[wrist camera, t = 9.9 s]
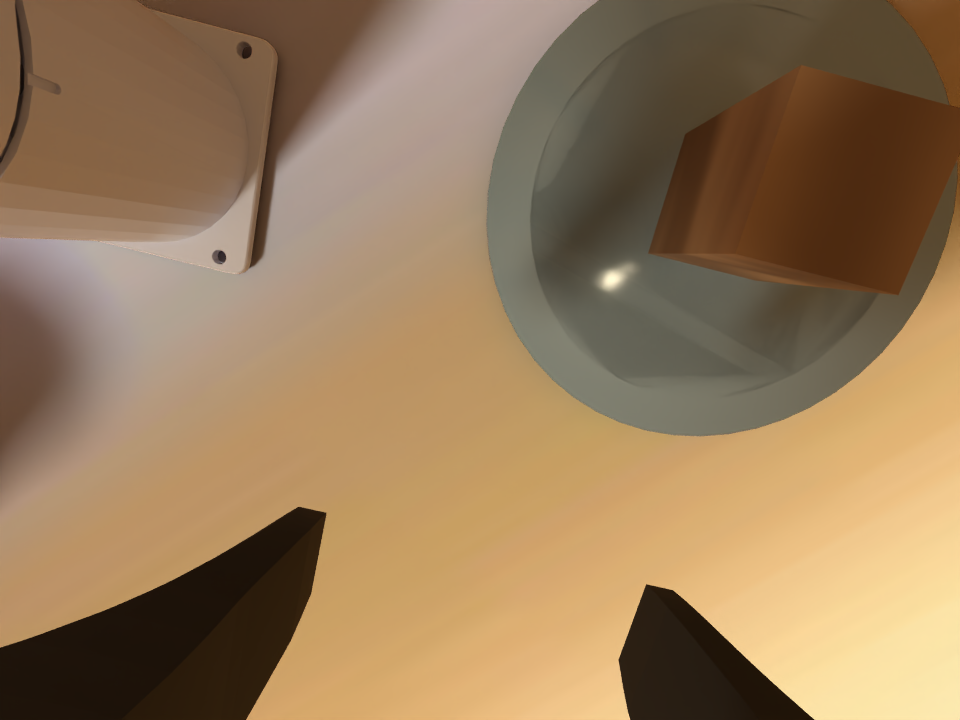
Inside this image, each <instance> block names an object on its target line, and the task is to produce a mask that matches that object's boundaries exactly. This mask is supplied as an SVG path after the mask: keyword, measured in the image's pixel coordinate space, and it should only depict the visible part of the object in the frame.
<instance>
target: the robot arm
mask: <svg viewBox="0 0 960 720" xmlns="http://www.w3.org/2000/svg"><path fill="white" fill-rule="evenodd" d="M247 46H251V47H252V54H251V56H250V57H249V58H247V59H243V57H242V52H243V49H244V48H245V47H247ZM277 65H278V55H277V53H276V50H275V49H274V48H273V46H272V45H271V44H270V43H269V42H268V41H266V40H264V39H262V38H259V37H255V36H251V35H247V34H243V33H240V32H236V31H232V30H228V29H224V28H221V27H217V26H213V25H209V24H205V23H202V22H198V21H194V20H190V19H186V18H183V17H179V16H175V15H171V14H168V13H164V12H160V11H156V10H152V9H149V8H146V7H145V6H144V5H142V4H141V3H139V2H138V1H137V0H0V238H28V239H59V240H90V241H99V242H103V243H107V244H111V245H115V246H119V247H123V248H128V249H132V250H136V251H140V252H144V253H148V254H152V255H156V256H161V257H165V258H169V259H173V260H177V261H181V262H185V263H189V264H194V265H198V266H202V267H206V268H210V269H214V270H218V271H222V272H227V273H231V274H241V273H244V272H246V271H247V270H248V269H249V267H250V264H251V257H252V250H253V242H254V235H255V228H256V220H257V213H258V205H259V198H260V191H261V183H262V176H263V169H264V161H265V154H266V146H267V139H268V132H269V124H270V117H271V109H272V102H273V95H274V87H275V80H276V73H277ZM220 251H223V252H224V253H225V254H226V261H225V263H221V262H220V261H219V259H218V253H219V252H220ZM325 518H326V513H324V512H320V511H315V510H311V509H306V508H302V507H298V508H296V509H294V510H292V511H291V512H289V513H287V514H286V515H284V516H283V517H281V518H279V519H278V520H276V521H275V522H273V523H271V524H270V525H268V526H267V527H265V528H264V529H262V530H260V531H259V532H257V533H256V534H254V535H252V536H251V537H249V538H247V539H246V540H244V541H242V542H241V543H239V544H237V545H236V546H234V547H232V548H231V549H229V550H227V551H226V552H224V553H222V554H221V555H219V556H217V557H215V558H213V559H212V560H210V561H208V562H206V563H204V564H202V565H200V566H199V567H197V568H195V569H193V570H191V571H189V572H187V573H186V574H184V575H182V576H180V577H178V578H176V579H174V580H172V581H170V582H168V583H166V584H164V585H162V586H159V587H157V588H155V589H153V590H151V591H149V592H147V593H144V594H142V595H140V596H137V597H135V598H133V599H131V600H128V601H126V602H124V603H121V604H119V605H117V606H114V607H112V608H110V609H107V610H105V611H102V612H99V613H97V614H94V615H91V616H89V617H86V618H83V619H81V620H78V621H75V622H73V623H70V624H67V625H65V626H62V627H59V628H56V629H54V630H51V631H48V632H46V633H43V634H40V635H38V636H35V637H32V638H29V639H26V640H23V641H20V642H17V643H14V644H11V645H7V646H4V647H1V648H0V720H246V719H247V717H248V715H249V714H250V712H251V710H252V708H253V707H254V705H255V703H256V701H257V699H258V698H259V696H260V694H261V692H262V691H263V689H264V687H265V685H266V684H267V682H268V680H269V678H270V677H271V675H272V673H273V671H274V670H275V668H276V666H277V664H278V662H279V661H280V659H281V657H282V655H283V654H284V652H285V650H286V648H287V646H288V645H289V643H290V641H291V639H292V637H293V634H294V632H295V630H296V628H297V625H298V623H299V621H300V618H301V616H302V614H303V611H304V609H305V607H306V604H307V602H308V600H309V597H310V595H311V591H312V586H313V581H314V576H315V570H316V565H317V560H318V555H319V550H320V544H321V539H322V534H323V529H324V523H325ZM619 665H620V671H621V677H622V683H623V689H624V694H625V699H626V704H627V709H628V713H629V716H630V720H814V719H813V718H812V717H811V716H810V715H808V714H807V713H806V712H805V711H804V710H803V709H802V708H800V707H799V706H798V705H797V704H796V703H795V702H794V701H792V700H791V699H790V698H789V697H788V696H787V695H786V694H784V693H783V692H782V691H781V690H780V689H779V688H778V687H777V686H776V685H774V684H773V683H772V682H771V681H770V680H769V679H768V678H767V677H766V676H765V675H764V674H762V673H761V672H760V671H759V670H758V669H757V668H756V667H755V666H754V665H753V664H752V663H751V662H750V661H749V660H748V659H746V658H745V657H744V656H743V655H742V654H741V653H740V652H739V651H738V650H737V649H736V648H735V647H734V646H733V645H732V644H731V643H730V642H729V641H728V640H727V639H725V638H724V637H723V636H722V635H721V634H720V633H719V632H718V631H717V630H716V629H715V628H714V627H713V626H712V625H711V624H710V623H709V622H708V621H707V620H706V619H705V618H704V617H702V616H701V615H700V614H699V613H698V612H697V611H696V610H695V609H694V608H693V607H692V606H691V605H689V604H688V603H687V602H686V601H685V600H684V599H683V598H682V597H680V596H679V595H678V594H677V593H675V592H674V591H673V590H669V589H665V588H660V587H656V586H651V585H647V584H646V587H645V589H644V592H643V595H642V598H641V600H640V603H639V606H638V608H637V611H636V614H635V617H634V619H633V622H632V625H631V628H630V630H629V633H628V636H627V638H626V641H625V644H624V647H623V649H622V652H621V655H620V658H619Z"/></svg>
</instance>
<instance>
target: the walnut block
mask: <svg viewBox="0 0 960 720" xmlns="http://www.w3.org/2000/svg"><path fill="white" fill-rule="evenodd" d="M959 154H960V108H958V107H954V106H950V105H947V104H943V103H939V102H936V101H932V100H928V99H925V98H921V97H917V96H914V95H910V94H906V93H903V92H899V91H895V90H892V89H888V88H884V87H881V86H877V85H873V84H869V83H866V82H862V81H858V80H855V79H851V78H847V77H844V76H840V75H836V74H833V73H829V72H825V71H822V70H818V69H814V68H811V67H807V66H803V65H800V66H799V67H797V68H795V69H793V70H792V71H790V72H788V73H787V74H785V75H783V76H782V77H780V78H778V79H777V80H775V81H773V82H772V83H770V84H768V85H767V86H765V87H763V88H762V89H760V90H758V91H757V92H755V93H753V94H752V95H750V96H748V97H746V98H745V99H743V100H741V101H740V102H738V103H736V104H735V105H733V106H731V107H730V108H728V109H726V110H725V111H723V112H721V113H720V114H718V115H716V116H715V117H713V118H711V119H710V120H708V121H706V122H705V123H703V124H701V125H699V126H698V127H696V128H694V129H693V130H691V131H689V132H688V133H686V134H685V136H684V139H683V142H682V146H681V149H680V152H679V155H678V159H677V162H676V165H675V168H674V171H673V175H672V178H671V181H670V184H669V187H668V191H667V194H666V197H665V200H664V204H663V207H662V210H661V213H660V216H659V220H658V223H657V226H656V229H655V232H654V236H653V239H652V242H651V245H650V249H649V252H648V254H652V255H656V256H660V257H664V258H668V259H672V260H676V261H680V262H684V263H687V264H691V265H695V266H699V267H703V268H707V269H711V270H715V271H719V272H723V273H727V274H731V275H735V276H739V277H743V278H747V279H751V280H755V281H764V282H774V283H784V284H793V285H803V286H813V287H823V288H833V289H843V290H853V291H862V292H872V293H882V294H892V295H899V293H900V291H901V288H902V286H903V284H904V282H905V279H906V277H907V275H908V272H909V270H910V268H911V265H912V263H913V261H914V258H915V256H916V254H917V251H918V249H919V247H920V244H921V242H922V240H923V238H924V235H925V233H926V231H927V228H928V226H929V224H930V221H931V219H932V217H933V214H934V212H935V210H936V207H937V205H938V203H939V200H940V198H941V196H942V194H943V191H944V189H945V187H946V184H947V182H948V180H949V177H950V175H951V173H952V170H953V168H954V166H955V163H956V161H957V159H958V156H959Z"/></svg>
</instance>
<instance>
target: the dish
mask: <svg viewBox="0 0 960 720" xmlns="http://www.w3.org/2000/svg"><path fill="white" fill-rule="evenodd" d="M800 65H803V66H807V67H811V68H814V69H818V70H822V71H825V72H829V73H833V74H836V75H840V76H844V77H847V78H851V79H855V80H858V81H862V82H866V83H869V84H873V85H877V86H881V87H884V88H888V89H892V90H895V91H899V92H903V93H906V94H910V95H914V96H917V97H921V98H925V99H928V100H932V101H936V102H939V103H943V104H947V105H949V101H948V98H947V94H946V91H945V87H944V84H943V82H942V80H941V78H940V75H939V73H938V71H937V69H936V67H935V64H934V62H933V60H932V58H931V56H930V54H929V52H928V51H927V49H926V48H925V46H924V45H923V43H922V42H921V40H920V39H919V37H918V36H917V34H916V32H915V31H914V29H913V28H912V27H911V26H910V25H909V24H908V22H907V21H906V20H905V19H904V18H903V17H902V16H901V15H900V14H899V12H898V11H897V10H896V9H895V8H894V7H893V6H892V5H891V4H890V3H889V2H888V1H886V0H599V1H598V2H596V3H595V4H594V5H592V6H591V7H590V8H589V9H587V10H586V11H585V12H583V13H582V14H581V15H580V16H579V17H578V18H577V19H576V20H575V21H574V22H573V23H572V24H571V25H570V26H569V27H568V28H567V29H566V30H565V31H564V32H563V33H562V34H561V35H560V36H559V37H558V38H557V39H556V40H555V41H554V43H553V44H552V45H551V47H550V48H549V49H548V50H547V52H546V53H545V54H544V56H543V57H542V58H541V59H540V61H539V62H538V63H537V65H536V66H535V67H534V69H533V71H532V72H531V74H530V76H529V77H528V79H527V81H526V82H525V84H524V86H523V87H522V89H521V91H520V92H519V94H518V96H517V98H516V100H515V102H514V104H513V107H512V109H511V111H510V114H509V116H508V118H507V120H506V123H505V125H504V127H503V130H502V133H501V137H500V140H499V143H498V147H497V150H496V153H495V157H494V160H493V166H492V172H491V178H490V184H489V190H488V205H487V237H488V249H489V257H490V262H491V266H492V271H493V276H494V280H495V284H496V287H497V289H498V292H499V295H500V298H501V301H502V304H503V306H504V309H505V312H506V314H507V316H508V318H509V320H510V322H511V324H512V326H513V327H514V329H515V331H516V333H517V335H518V337H519V339H520V340H521V341H522V343H523V344H524V346H525V347H526V349H527V350H528V351H529V353H530V354H531V356H532V357H533V359H534V360H535V361H536V362H537V363H538V364H539V365H540V367H541V368H542V369H543V370H544V371H545V372H546V373H547V374H548V375H549V376H550V377H551V379H552V380H553V381H555V382H556V383H557V384H558V385H559V386H561V387H562V388H563V389H564V390H565V391H567V392H568V393H569V394H570V395H571V396H573V397H574V398H576V399H577V400H579V401H580V402H582V403H584V404H585V405H587V406H588V407H590V408H592V409H593V410H595V411H596V412H599V413H601V414H603V415H605V416H607V417H609V418H612V419H614V420H616V421H618V422H620V423H624V424H627V425H630V426H633V427H637V428H640V429H643V430H647V431H652V432H658V433H664V434H670V435H684V436H710V435H723V434H731V433H736V432H741V431H746V430H751V429H756V428H759V427H762V426H765V425H768V424H771V423H775V422H778V421H781V420H784V419H786V418H788V417H790V416H792V415H795V414H797V413H799V412H801V411H803V410H806V409H808V408H810V407H812V406H813V405H815V404H817V403H818V402H820V401H822V400H823V399H825V398H827V397H828V396H830V395H832V394H833V393H835V392H836V391H838V390H839V389H840V388H842V387H843V386H844V385H846V384H847V383H848V382H850V381H851V380H852V379H853V378H855V377H856V376H857V375H859V374H860V373H861V372H862V371H863V370H864V369H865V368H866V367H867V366H868V365H869V364H870V363H872V362H873V361H874V360H875V359H876V358H877V357H878V356H879V355H880V354H881V353H882V352H883V351H884V350H885V348H886V347H887V346H888V345H889V344H890V342H891V341H892V340H893V339H894V338H895V337H896V335H897V334H898V333H899V332H900V331H901V329H902V328H903V327H904V325H905V324H906V322H907V321H908V319H909V318H910V316H911V315H912V313H913V312H914V310H915V309H916V307H917V306H918V304H919V303H920V301H921V299H922V297H923V295H924V293H925V291H926V289H927V287H928V285H929V283H930V281H931V280H932V278H933V276H934V274H935V271H936V268H937V266H938V263H939V260H940V258H941V255H942V252H943V250H944V247H945V245H946V241H947V237H948V233H949V229H950V225H951V221H952V217H953V213H954V205H955V196H956V188H957V161H956V163H955V166H954V168H953V170H952V173H951V175H950V177H949V180H948V182H947V184H946V187H945V189H944V191H943V194H942V196H941V198H940V200H939V203H938V205H937V207H936V210H935V212H934V214H933V217H932V219H931V221H930V224H929V226H928V228H927V231H926V233H925V235H924V238H923V240H922V242H921V244H920V247H919V249H918V251H917V254H916V256H915V258H914V261H913V263H912V265H911V268H910V270H909V272H908V275H907V277H906V279H905V282H904V284H903V286H902V288H901V291H900V293H899V295H892V294H882V293H872V292H862V291H853V290H843V289H833V288H823V287H813V286H803V285H793V284H784V283H774V282H764V281H755V280H751V279H747V278H743V277H739V276H735V275H731V274H727V273H723V272H719V271H715V270H711V269H707V268H703V267H699V266H695V265H691V264H687V263H684V262H680V261H676V260H672V259H668V258H664V257H660V256H656V255H652V254H648V252H649V249H650V245H651V242H652V239H653V236H654V232H655V229H656V226H657V223H658V220H659V216H660V213H661V210H662V207H663V204H664V200H665V197H666V194H667V191H668V187H669V184H670V181H671V178H672V175H673V171H674V168H675V165H676V162H677V159H678V155H679V152H680V149H681V146H682V142H683V139H684V136H685V134H686V133H688V132H689V131H691V130H693V129H694V128H696V127H698V126H699V125H701V124H703V123H705V122H706V121H708V120H710V119H711V118H713V117H715V116H716V115H718V114H720V113H721V112H723V111H725V110H726V109H728V108H730V107H731V106H733V105H735V104H736V103H738V102H740V101H741V100H743V99H745V98H746V97H748V96H750V95H752V94H753V93H755V92H757V91H758V90H760V89H762V88H763V87H765V86H767V85H768V84H770V83H772V82H773V81H775V80H777V79H778V78H780V77H782V76H783V75H785V74H787V73H788V72H790V71H792V70H793V69H795V68H797V67H799V66H800Z"/></svg>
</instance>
